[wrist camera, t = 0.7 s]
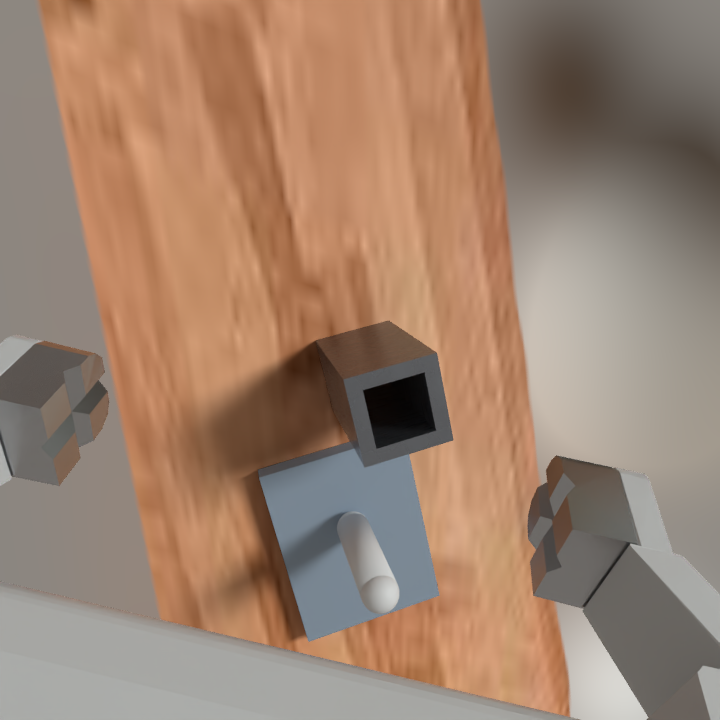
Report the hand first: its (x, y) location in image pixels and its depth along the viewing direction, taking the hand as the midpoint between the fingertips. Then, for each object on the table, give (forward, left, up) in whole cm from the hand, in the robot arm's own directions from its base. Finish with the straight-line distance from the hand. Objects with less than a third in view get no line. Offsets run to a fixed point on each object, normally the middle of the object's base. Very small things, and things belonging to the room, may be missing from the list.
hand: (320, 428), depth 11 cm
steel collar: (+10, +7, -34) cm, 36 cm away
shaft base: (+24, +3, -34) cm, 42 cm away
